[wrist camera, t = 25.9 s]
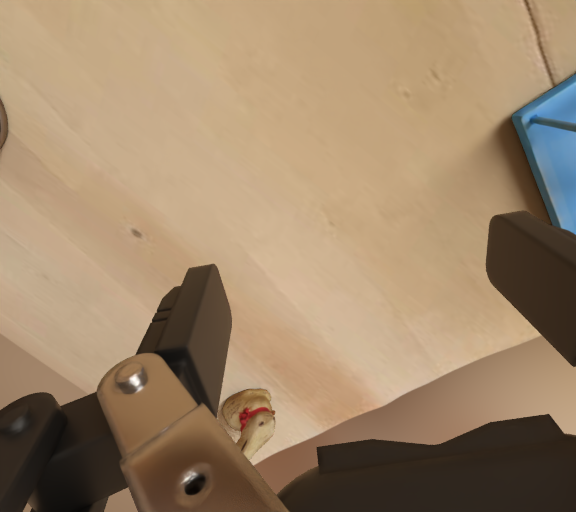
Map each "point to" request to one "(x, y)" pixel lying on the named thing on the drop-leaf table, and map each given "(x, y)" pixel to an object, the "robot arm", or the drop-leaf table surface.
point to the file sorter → (552, 149)
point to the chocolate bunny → (250, 419)
